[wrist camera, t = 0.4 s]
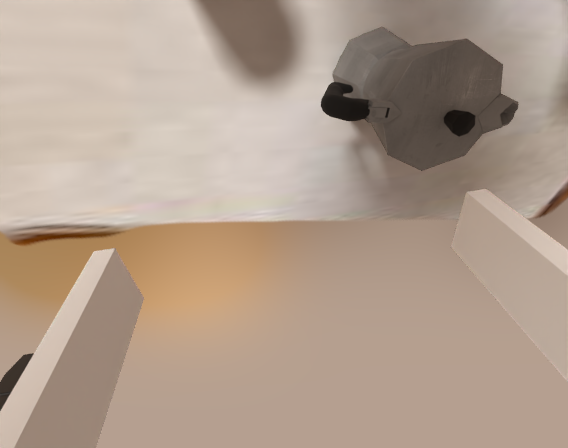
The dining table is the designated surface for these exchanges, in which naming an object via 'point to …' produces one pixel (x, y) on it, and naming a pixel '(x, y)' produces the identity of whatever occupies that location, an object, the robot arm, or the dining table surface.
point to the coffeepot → (419, 95)
